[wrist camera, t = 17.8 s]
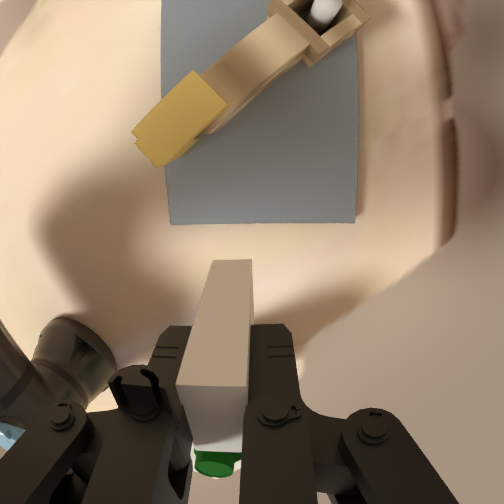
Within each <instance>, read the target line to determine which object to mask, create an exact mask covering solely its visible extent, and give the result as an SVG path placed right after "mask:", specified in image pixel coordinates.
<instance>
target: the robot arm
mask: <svg viewBox="0 0 504 504" xmlns="http://www.w3.org/2000/svg"><path fill="white" fill-rule="evenodd" d="M108 387H110V389H111V392H112V394H113V396H114V398H115V400H116V403H117V405H118V408H117V409H113V410H109V411H100V412H90V413H86V411H85V410H86V408H87V406H88V404H89V403H90V402H91V401H93V400H94V399H95V398H96V397H97V396H98V395H99V394H100V393H101V392H103V391H105V390H106V389H107V388H108ZM192 442H193V444H194V447H195V450H197V451H214V452H242V455H241V477H240V495H239V504H318V501H317V492H322V493H327V495H328V497H329V499H330V501H331V503H332V504H459V503H458V501H457V500H456V499H455V497H454V496H453V494H452V493H451V492H450V490H449V489H448V487H447V486H446V484H445V483H444V481H443V480H442V479H441V478H440V476H439V474H438V473H437V472H436V470H435V469H434V467H433V466H432V465H431V463H430V462H429V460H428V459H427V458H426V456H425V455H424V454H423V452H422V451H421V449H420V448H419V447H418V445H417V444H416V442H415V441H414V440H413V438H412V437H411V436H410V434H409V433H408V431H407V430H406V429H405V427H404V426H403V425H402V423H401V422H400V420H398V419H397V418H396V417H395V416H394V415H393V414H392V413H390V412H388V411H385V410H383V409H377V408H366V409H361V410H358V411H356V412H355V413H353V414H351V415H350V416H349V417H348V418H347V419H340V418H333V417H328V416H324V415H320V414H318V413H316V412H314V411H312V410H311V409H310V408H308V407H307V406H306V405H305V403H304V402H303V400H302V398H301V395H300V390H299V382H298V375H297V368H296V361H295V354H294V348H293V340H292V333H291V332H290V331H289V330H288V329H287V328H286V326H285V325H284V324H260V325H254V304H253V280H252V259H247V260H213V261H212V265H211V268H210V271H209V274H208V277H207V280H206V283H205V287H204V290H203V293H202V296H201V300H200V303H199V306H198V309H197V313H196V316H195V319H194V323H193V326H169V327H168V328H167V329H166V330H165V331H164V332H163V333H162V334H161V335H160V336H159V339H158V341H157V343H156V346H155V348H154V351H153V353H152V358H150V360H149V363H148V365H131V366H128V367H125V368H122V369H120V370H119V371H117V372H116V363H115V360H114V357H113V355H112V353H111V351H110V350H109V348H108V347H107V346H106V344H105V343H104V342H103V341H102V340H101V339H100V338H99V337H98V336H97V335H96V334H95V333H94V332H93V331H91V330H90V329H88V328H87V327H85V326H84V325H82V324H80V323H78V322H76V321H73V320H69V319H63V318H60V319H54V320H52V321H50V322H49V323H48V324H47V326H46V327H45V328H44V329H43V330H42V332H41V334H40V336H39V340H38V345H37V347H36V349H35V352H34V355H33V358H32V360H31V361H29V359H28V358H27V357H26V355H25V354H24V353H23V351H22V350H21V349H20V347H19V346H18V345H17V343H16V342H15V340H14V339H13V338H12V336H11V335H10V333H9V332H8V331H7V329H6V328H5V326H4V325H3V323H2V321H1V320H0V446H2V447H3V448H4V449H6V450H7V452H6V453H5V455H4V456H3V457H2V458H1V459H0V504H188V497H189V490H190V484H191V478H192V471H193V462H192V459H191V456H190V454H191V448H192Z"/></svg>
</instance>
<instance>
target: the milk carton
mask: <svg viewBox="0 0 504 504" xmlns="http://www.w3.org/2000/svg"><path fill="white" fill-rule="evenodd" d="M241 455H242V452H214V451H197V450H195V447H194V444H193V442H192V448H191V454H190V456H191V459H192V462H193V471H196V472H198V473H201V474H203V475H206V476H209V477H212V478H214V479H218V478H223V477H228V476H230V475H232V474H233V472H234V471H236V470H238V469H240V468H241Z"/></svg>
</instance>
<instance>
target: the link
mask: <svg viewBox="0 0 504 504" xmlns="http://www.w3.org/2000/svg"><path fill="white" fill-rule="evenodd" d="M314 1H315V0H272V1H271V2H270V3H268V4H267V20H266V21H265V22H264V23H262V24H261V25H260V26H258V27H257V28H256V29H255V30H253V31H252V32H251V33H249V34H248V35H247V36H246V37H244V38H243V39H242V40H241V41H239V42H238V43H237V44H236V45H235V46H233V47H232V48H231V49H230V50H229V51H227V52H226V53H225V54H224V55H223V56H222V57H221V58H219V59H218V60H217V61H216V62H215V63H214V64H213V65H211V66H210V67H209V68H208V69H207V70H206V71H205V72H204V73H203V74H202V75H200V76H201V77H202V78H203V79H204V80H205V81H206V82H207V83H208V84H209V85H210V86H211V87H212V88H213V89H214V90H215V91H216V92H217V93H218V94H219V95H220V96H221V97H222V99H223V100H224V101H225V102H226V103H227V104H228V105H229V107H228V108H227V109H225V110H224V111H223V112H222V113H221V114H220V115H219V116H218V117H216V118H215V119H214V120H213V121H212V122H211V123H210V124H209V125H208V126H207V127H205V128H204V129H203V130H202V131H201V132H202V133H203V134H211V133H216V132H217V131H219V130H220V129H221V128H222V127H223V126H224V125H225V124H226V123H227V122H228V121H229V120H230V119H232V118H233V117H234V116H235V115H236V114H237V113H238V112H239V111H240V110H242V109H243V108H244V107H245V106H246V105H247V104H248V103H249V102H251V101H252V100H253V99H254V98H255V97H256V96H258V95H259V94H260V93H261V92H262V91H263V90H265V89H266V88H267V87H268V86H269V85H271V84H272V83H273V82H274V81H275V80H277V79H278V78H279V77H280V76H281V75H283V74H284V73H285V72H286V71H288V70H289V69H290V68H291V67H293V66H294V65H295V64H297V63H298V62H299V61H300V60H302V62H303V63H304V64H305V65H306V66H307V67H308V68H310V67H311V66H312V65H313V64H315V63H316V62H317V61H319V60H320V59H321V58H323V57H324V56H325V55H327V54H328V53H329V52H331V51H332V50H333V49H335V48H336V47H337V46H339V45H340V44H342V43H343V42H344V41H346V40H347V39H349V38H350V37H351V36H352V35H353V34H354V33H356V32H357V31H358V30H359V29H360V28H361V27H362V26H363V25H364V24H365V23H366V22H367V21H368V20H369V19H370V18H371V17H370V16H369V15H368V14H367V13H366V12H365V11H364V10H363V9H362V8H361V7H360V6H359V5H358V4H357V3H356V2H355V1H354V0H342V6H341V8H340V9H339V11H338V12H337V14H336V15H335V17H334V18H333V20H332V21H331V23H330V24H329V27H330V28H331V29H330V30H328V31H327V32H326V33H324V34H323V35H321V36H319V35H318V34H317V33H316V32H315V31H314V30H313V29H312V28H311V27H310V26H309V25H308V24H307V23H306V22H305V21H304V20H303V19H302V18H301V17H300V16H301V15H302V14H303V13H305V12H306V11H308V10H309V9H311V8H312V6H313V3H314Z"/></svg>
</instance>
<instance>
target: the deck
mask: <svg viewBox="0 0 504 504" xmlns="http://www.w3.org/2000/svg"><path fill="white" fill-rule="evenodd" d="M271 1H272V0H162V7H161V96H162V100H161V101H160V102H159V103H158V104H157V105H156V106H155V107H154V108H153V109H152V110H151V111H150V112H149V113H148V114H147V115H146V116H145V117H144V118H143V119H142V121H141V122H140V123H139V124H138V125H137V126H136V127H135V128H134V129H133V130H132V131H131V132H132V133H133V134H134V136H135V137H136V138H137V139H138V140H137V141H136V142H135V143H134V144H135V145H136V146H137V147H138V148H139V149H140V150H141V151H142V152H143V153H144V154H145V155H146V156H147V158H148V159H149V160H150V161H151V162H152V163H153V164H154V165H155V166H156V167H159V166H161V165H165V169H166V181H167V193H168V203H169V213H170V223H171V225H190V224H241V223H355V210H356V194H357V175H358V142H359V97H358V66H357V47H356V33H354V34H353V35H352V36H351V37H350V38H349V39H347V40H346V41H344V42H343V43H342V44H340V45H339V46H337V47H336V48H335V49H333V50H332V51H331V52H329V53H328V54H327V55H325V56H324V57H323V58H321V59H320V60H319V61H317V62H316V63H315V64H313V65H312V66H311V67H310V68H308V67H307V66H306V65H305V64H304V63H303V62H302V60H300V61H299V62H298V63H297V64H295V65H294V66H293V67H291V68H290V69H289V70H288V71H286V72H285V73H284V74H283V75H281V76H280V77H279V78H278V79H277V80H275V81H274V82H273V83H272V84H271V85H269V86H268V87H267V88H266V89H265V90H263V91H262V92H261V93H260V94H259V95H258V96H256V97H255V98H254V99H253V100H252V101H251V102H249V103H248V104H247V105H246V106H245V107H244V108H243V109H242V110H240V111H239V112H238V113H237V114H236V115H235V116H234V117H233V118H232V119H230V120H229V121H228V122H227V123H226V124H225V125H224V126H223V127H222V128H221V129H220V130H219V131H217V132H216V133H211V134H203V133H202V132H201V131H202V130H203V129H204V128H205V127H207V126H208V125H209V124H210V123H211V122H212V121H213V120H214V119H215V118H216V117H218V116H219V115H220V114H221V113H222V112H223V111H224V110H225V109H227V108H228V107H229V105H228V104H227V103H226V102H225V101H224V100H223V99H222V97H221V96H220V95H219V94H218V93H217V92H216V91H215V90H214V89H213V88H212V87H211V86H210V85H209V84H208V83H207V82H206V81H205V80H204V79H203V78H202V77H201V76H200V75H202V74H203V73H204V72H205V71H206V70H207V69H208V68H209V67H210V66H211V65H213V64H214V63H215V62H216V61H217V60H218V59H219V58H221V57H222V56H223V55H224V54H225V53H226V52H227V51H229V50H230V49H231V48H232V47H233V46H235V45H236V44H237V43H238V42H239V41H241V40H242V39H243V38H244V37H246V36H247V35H248V34H249V33H251V32H252V31H253V30H255V29H256V28H257V27H258V26H260V25H261V24H262V23H264V22H265V21H266V20H267V4H268V3H270V2H271ZM341 6H342V0H315V1H314V3H313V6H312V8H311V9H309V10H308V11H306V12H305V13H303V14H302V15H301V16H300V17H301V18H302V19H303V20H304V21H305V22H306V23H307V24H308V25H309V26H310V27H311V28H312V29H313V30H314V31H315V32H316V33H317V34H318V35H319V36H321V35H323V34H324V33H326V32H327V31H328V30H330V29H331V28H330V27H329V24H330V23H331V21H332V20H333V18H334V17H335V15H336V14H337V12H338V11H339V9H340V8H341Z"/></svg>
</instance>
